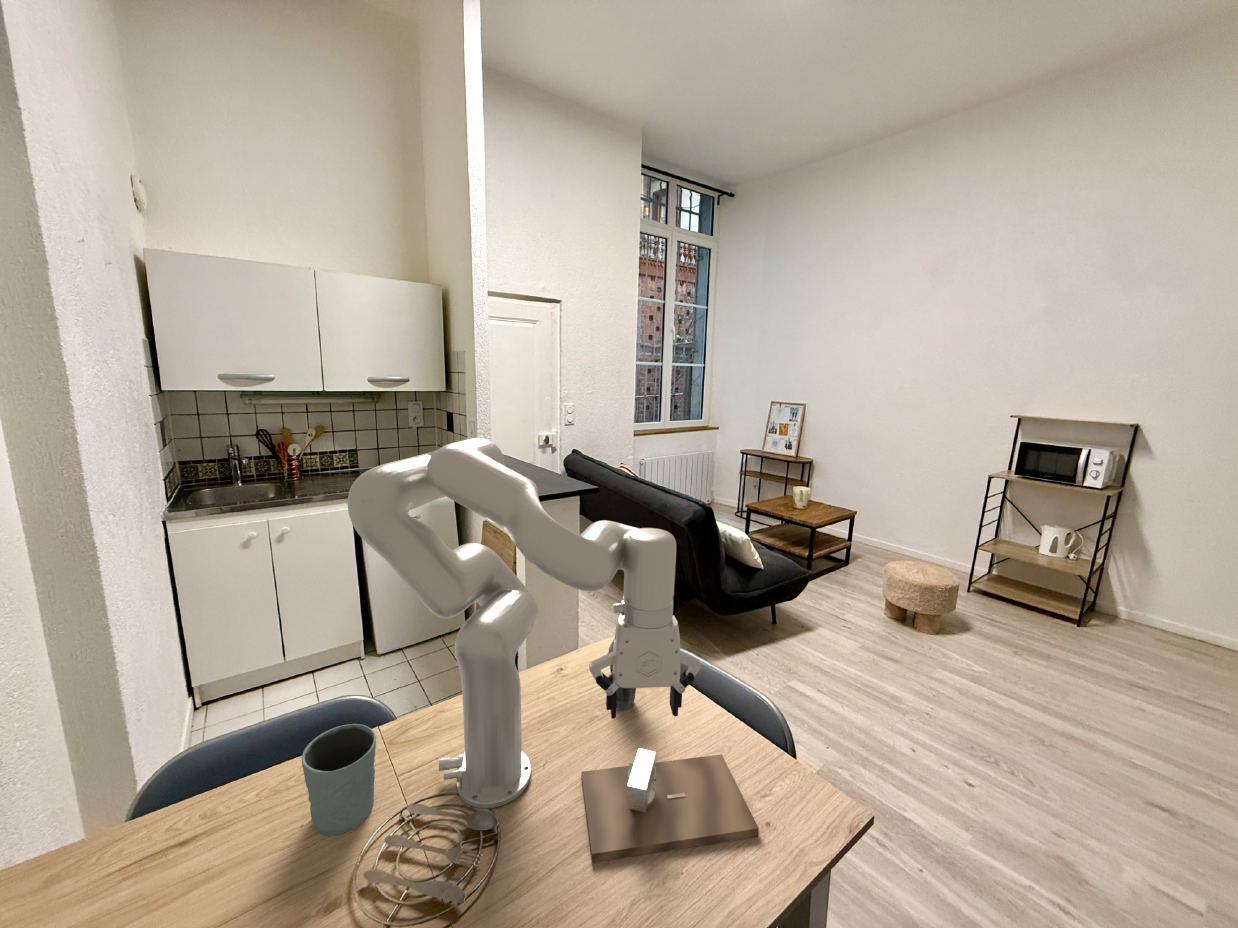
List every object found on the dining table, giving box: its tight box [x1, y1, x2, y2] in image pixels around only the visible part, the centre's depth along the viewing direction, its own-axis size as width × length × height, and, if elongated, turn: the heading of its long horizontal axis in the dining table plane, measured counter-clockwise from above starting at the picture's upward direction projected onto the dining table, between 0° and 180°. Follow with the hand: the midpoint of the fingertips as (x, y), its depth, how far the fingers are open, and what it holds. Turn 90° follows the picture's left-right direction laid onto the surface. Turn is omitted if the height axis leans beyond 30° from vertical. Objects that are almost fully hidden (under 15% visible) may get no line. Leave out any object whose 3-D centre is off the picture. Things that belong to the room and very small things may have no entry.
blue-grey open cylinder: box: [301, 723, 377, 837], centre depth 77 cm, size 10×10×12 cm
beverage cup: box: [607, 639, 637, 711], centre depth 103 cm, size 7×7×20 cm
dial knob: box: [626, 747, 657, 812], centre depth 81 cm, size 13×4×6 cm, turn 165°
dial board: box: [580, 754, 760, 863], centre depth 80 cm, size 26×15×2 cm, turn 100°
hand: (643, 711), depth 76 cm, fingers open, 9 cm apart
